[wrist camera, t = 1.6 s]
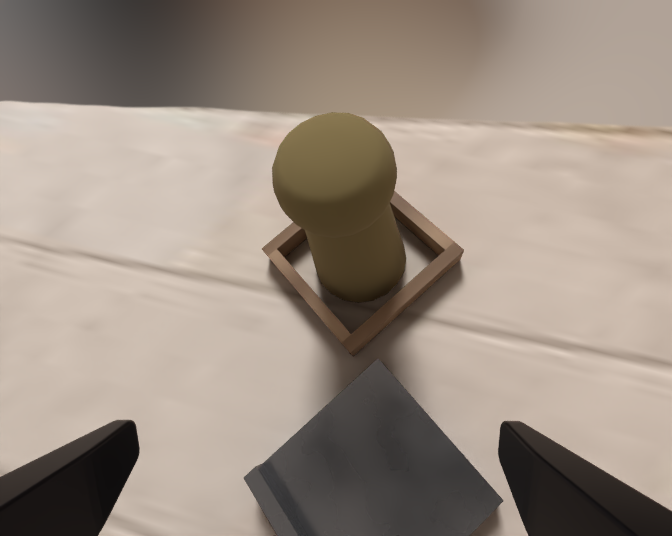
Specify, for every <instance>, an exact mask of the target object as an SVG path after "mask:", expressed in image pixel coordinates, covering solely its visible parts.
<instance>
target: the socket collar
mask: <svg viewBox="0 0 672 536" xmlns="http://www.w3.org/2000/svg"><path fill="white" fill-rule="evenodd" d="M390 206H391V209H392V211H393V214H394V217H396V218H397V219H398V220H399V221H400V222H401V223H402V224H403V225H405V226H406V227H407V228H408V229H409V230H410V231H411V232H413V233H414V234H415V235H416V236H417V237H418V238H419V239H420V240H422V241H423V242H424V243H425V244H426V245H427V246H428V247H429V248H431V249H432V250H433V251H434V252H435V253H436V254H437V255H438V257H437V258H436V259H435V260H434V261H432V262H431V263H430V264H429V265H428V266H427V267H426V268H425V269H423V270H422V271H421V272H420V273H419V274H418V275H417V276H416V277H415V278H413V279H412V280H411V281H410V282H409V283H408V284H407V285H406V286H404V287H403V288H402V289H401V290H400V291H399V292H398V293H397V294H396V295H394V296H393V297H392V298H391V299H390V300H389V301H388V302H387V303H385V304H384V305H383V306H382V307H381V308H380V309H379V310H378V311H377V312H375V313H374V314H373V315H372V316H371V317H370V318H369V319H368V320H367V321H365V322H364V323H363V324H362V325H361V326H360V327H359V328H358V329H356V330H355V331H354V332H353V333H352V334H350V332H349V331H348V330H347V329H346V328H345V327H344V326H343V324H342V323H341V322H340V321H339V320H338V319H337V317H336V316H335V315H334V314H333V313H332V312H331V311H330V309H329V308H328V307H327V306H326V305H325V304H324V303H323V301H322V300H321V299H320V298H319V297H318V296H317V295H316V293H315V292H314V291H313V290H312V289H311V288H310V287H309V285H308V284H307V283H306V282H305V281H304V280H303V279H302V277H301V276H300V275H299V274H298V273H297V272H296V270H295V269H294V268H293V267H292V266H291V265H290V264H289V262H288V261H287V260H286V259H285V258H284V257H285V256H286V255H288V254H289V253H290V252H291V251H292V250H293V249H295V248H296V247H297V246H298V245H299V244H301V243H302V242H303V241H304V240H305V239H307V236H306V232H305V230H304V229H302V228H301V227H299V226H297V225H296V224H295V223H294V222H293V223H292V224H291V225H289V226H288V227H287V228H286V229H285V230H283V231H282V232H281V233H280V234H279V235H277V236H276V237H275V238H274V239H273V240H271V241H270V242H269V243H268V244H267V245H265V246H264V247H263V248H262V250H263V251H264V252H265V254H266V255H267V256H268V257H269V258H270V259H271V261H272V262H273V263H274V264H275V265H276V267H277V268H278V269H279V270H280V271H281V272H282V274H283V275H284V276H285V277H286V278H287V280H288V281H289V282H290V283H291V284H292V285H293V287H294V288H295V289H296V290H297V291H298V293H299V294H300V295H301V296H302V297H303V298H304V300H305V301H306V302H307V303H308V304H309V306H310V307H311V308H312V309H313V310H314V311H315V313H316V314H317V315H318V316H319V317H320V318H321V320H322V321H323V322H324V323H325V324H326V326H327V327H328V328H329V329H330V330H331V331H332V333H333V334H334V335H335V336H336V337H337V339H338V340H339V341H340V342H341V343H342V344H343V346H344V347H345V348H346V349H347V350H348V352H349V353H350V354H351V355H352V356H354V355H355V354H356V353H358V352H359V351H360V350H361V349H362V348H363V347H364V346H365V345H366V344H368V343H369V342H370V341H371V340H372V339H373V338H374V337H375V336H376V335H377V334H379V333H380V332H381V331H382V330H383V329H384V328H385V327H386V326H387V325H389V324H390V323H391V322H392V321H393V320H394V319H395V318H396V317H397V316H398V315H400V314H401V313H402V312H403V311H404V310H405V309H406V308H407V307H408V306H410V305H411V304H412V303H413V302H414V301H415V300H416V299H417V298H418V297H419V296H421V295H422V294H423V293H424V292H425V291H426V290H427V289H428V288H429V287H431V286H432V285H433V284H434V283H435V282H436V281H437V280H438V279H439V278H440V277H442V276H443V275H444V274H445V273H446V272H447V271H448V270H449V269H450V268H452V267H453V266H454V265H455V264H456V263H457V262H458V261H459V260H460V259H461V257H462V254H463V252H464V249H462V248H461V247H460V246H459V245H458V244H456V243H455V242H454V241H453V240H452V239H451V238H449V237H448V236H447V235H446V234H445V233H443V232H442V231H441V230H440V229H439V228H438V227H436V226H435V225H434V224H433V223H432V222H430V221H429V220H428V219H427V218H426V217H425V216H423V215H422V214H421V213H420V212H419V211H417V210H416V209H415V208H414V207H413V206H411V205H410V204H409V203H408V202H407V201H406V200H404V199H403V198H402V197H401V196H400V195H398V194H397V193H396V192H395V191H394V194H393V197H392V199H391V201H390Z"/></svg>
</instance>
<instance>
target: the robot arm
mask: <svg viewBox="0 0 672 536" xmlns="http://www.w3.org/2000/svg"><path fill="white" fill-rule="evenodd" d="M498 455H499V460H500V463H501V466H502V468H503V471H504V474H505V476H506V479H507V482H508V484H509V487H510V490H511V492H512V495H513V498H514V500H515V503H516V506H517V508H518V511H519V514H520V516H521V519H522V521H523V524H524V526H525V529H526V531H527V533H528V536H672V511H671V510H669V509H667V508H666V507H664V506H662V505H661V504H659V503H657V502H655V501H654V500H652V499H650V498H649V497H647V496H645V495H644V494H642V493H640V492H639V491H637V490H635V489H634V488H632V487H630V486H629V485H627V484H625V483H623V482H622V481H620V480H618V479H617V478H615V477H613V476H612V475H610V474H608V473H607V472H605V471H603V470H602V469H600V468H598V467H597V466H595V465H593V464H591V463H590V462H588V461H586V460H585V459H583V458H581V457H580V456H578V455H576V454H575V453H573V452H571V451H570V450H568V449H566V448H565V447H563V446H561V445H560V444H558V443H556V442H554V441H553V440H551V439H549V438H548V437H546V436H544V435H543V434H541V433H539V432H538V431H536V430H534V429H533V428H531V427H529V426H528V425H526V424H524V423H522V422H520V421H504V422H503V423H502V424H501V427H500V437H499V448H498ZM138 456H139V442H138V435H137V429H136V424H135V422H134V421H132V420H115V421H113V422H111V423H109V424H107V425H105V426H103V427H101V428H99V429H97V430H95V431H93V432H91V433H89V434H87V435H85V436H83V437H80V438H78V439H76V440H74V441H72V442H70V443H68V444H66V445H64V446H62V447H60V448H58V449H56V450H54V451H52V452H50V453H48V454H46V455H44V456H42V457H40V458H38V459H36V460H34V461H32V462H30V463H28V464H26V465H24V466H22V467H20V468H18V469H16V470H14V471H12V472H9V473H7V474H5V475H3V476H1V477H0V536H98V535H99V533H100V531H101V530H102V528H103V526H104V524H105V522H106V521H107V519H108V517H109V515H110V513H111V511H112V509H113V507H114V505H115V503H116V501H117V499H118V497H119V495H120V493H121V491H122V489H123V487H124V485H125V483H126V481H127V479H128V477H129V475H130V473H131V471H132V469H133V467H134V465H135V463H136V461H137V459H138Z"/></svg>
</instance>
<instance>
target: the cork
mask: <svg viewBox="0 0 672 536" xmlns="http://www.w3.org/2000/svg"><path fill="white" fill-rule="evenodd" d="M272 177H273V188H274V192H275V195H276V197H277V199H278V202H279V204H280V206H281V208H282V209H283V211H284V212H285V214H286V215H287V216H288V217H289V218H290V219H291V220H292V221H293V222H294V223H295V224H296V225H297V226H299V227H301V228H302V229H304V230H305V232H306V236H307V239H308V243H309V246H310V250H311V253H312V257H313V261H314V264H315V268H316V271H317V274H318V276H319V278H320V280H321V283H322V284H323V285H324V286H325V288H326V289H327V290H328V291H329V292H330V293H331V294H333V295H335V296H337V297H339V298H340V299H342V300H346V301H351V302H357V303H359V302H366V301H373V300H375V299H377V298H379V297H381V296H383V295H386V294H387V293H388V292H389V291H390V290H391V289H392V288H393V287H395V286H396V285H397V283H398V281H399V280H400V278H401V276H402V274H403V272H404V268H405V262H406V254H405V249H404V244H403V241H402V238H401V235H400V232H399V229H398V226H397V223H396V220H395V217H394V214H393V211H392V209H391V206H390V201H391V199H392V197H393V194H394V189H395V184H396V179H397V167H396V162H395V157H394V152H393V150H392V148H391V145H390V144H389V142H388V141H387V139H386V137H385V136H384V134H383V133H382V131H380V130H379V129H378V128H376V127H375V126H374V125H372V124H371V123H370V122H368V121H367V120H365V119H364V118H362V117H359V116H356V115H353V114H350V113H334V112H332V113H327V114H322V115H318V116H315V117H313V118H310V119H308V120H306V121H304V122H302V123H300V124H299V125H298V126H297V127H296V128H294V129H293V130H292V131H291V132H289V133H288V135H287V136H286V137H285V139H284V140H283V142H282V143H281V144H280V146H279V149H278V152H277V155H276V158H275V161H274V164H273V167H272Z"/></svg>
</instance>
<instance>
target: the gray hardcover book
mask: <svg viewBox="0 0 672 536" xmlns="http://www.w3.org/2000/svg"><path fill="white" fill-rule="evenodd" d="M244 480H245V481H246V483H247V485H248V486H249V488H250V490H251V492H252V493H253V495H254V497H255V498H256V500H257V502H258V503H259V505H260V507H261V508H262V510H263V512H264V514H265V515H266V517H267V519H268V520H269V522H270V524H271V525H272V527H273V529H274V530H275V532H276V534H277V536H470V535H471V534H472V533H473V532H474V531H475V530H476V529H477V528H478V527H479V525H480V524H481V523H482V522H483V521H484V520H485V519H486V518H487V517H488V516H489V515H490V514H491V513H492V512H493V511H494V510H495V509H496V508H497V507H498V506H499V505H500V504H501V503H502V502H503V500H502V498H501V497H500V496H499V495H498V494H497V493H496V492H495V490H494V489H493V488H492V487H491V486H490V485H489V484H488V482H487V481H486V480H485V479H484V478H483V477H482V476H481V475H480V473H479V472H478V471H477V470H476V469H475V468H474V467H473V465H472V464H471V463H470V462H469V461H468V460H467V459H466V458H465V456H464V455H463V454H462V453H461V452H460V451H459V450H458V448H457V447H456V446H455V445H454V444H453V443H452V442H451V440H450V439H449V438H448V437H447V436H446V435H445V434H444V433H443V431H442V430H441V429H440V428H439V427H438V426H437V425H436V423H435V422H434V421H433V420H432V419H431V418H430V417H429V415H428V414H427V413H426V412H425V411H424V410H423V409H422V408H421V406H420V405H419V404H418V403H417V402H416V401H415V400H414V398H413V397H412V396H411V395H410V394H409V393H408V392H407V391H406V389H405V388H404V387H403V386H402V385H401V384H400V383H399V381H398V380H397V379H396V378H395V377H394V376H393V375H392V373H391V372H390V371H389V370H388V369H387V368H386V367H385V366H384V364H383V363H382V362H381V361H380V360H379V359H377V360H376V361H374V362H373V363H372V364H371V365H370V366H369V367H368V368H367V369H366V370H365V371H364V372H362V373H361V374H360V375H359V376H358V377H357V378H356V379H355V380H354V381H353V382H352V383H350V384H349V385H348V386H347V387H346V388H345V389H344V390H343V391H342V392H341V393H339V394H338V395H337V396H336V397H335V398H334V399H333V400H332V401H331V402H330V403H329V404H327V405H326V406H325V407H324V408H323V409H322V410H321V411H320V412H319V413H318V414H317V415H315V416H314V417H313V418H312V419H311V420H310V421H309V422H308V423H307V424H306V425H304V426H303V427H302V428H301V429H300V430H299V431H298V432H297V433H296V434H295V435H294V436H292V437H291V438H290V439H289V440H288V441H287V442H286V443H285V444H284V445H283V446H282V447H280V448H279V449H278V450H277V451H276V452H275V453H274V454H273V455H272V456H271V457H269V458H268V459H267V460H266V461H265V462H264V463H263V464H260V465H258V466H256V467H255V468H254V469H253V470H251V471H250V472H249V473H248V474H247V475H246V476H245V477H244Z"/></svg>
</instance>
